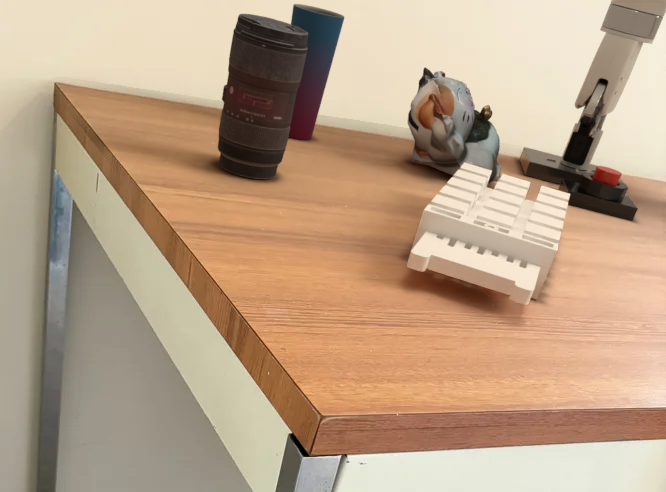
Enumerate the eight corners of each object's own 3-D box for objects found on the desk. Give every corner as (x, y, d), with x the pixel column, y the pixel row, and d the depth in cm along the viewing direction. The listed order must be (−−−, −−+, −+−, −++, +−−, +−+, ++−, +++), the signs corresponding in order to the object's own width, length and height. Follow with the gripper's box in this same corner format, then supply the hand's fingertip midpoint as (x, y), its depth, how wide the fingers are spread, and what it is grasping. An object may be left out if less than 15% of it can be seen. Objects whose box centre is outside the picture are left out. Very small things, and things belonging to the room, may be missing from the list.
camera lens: (234, 181, 92) (260, 26, 82) (201, 157, 97) (222, 9, 87) (294, 183, 96) (325, 36, 86) (259, 161, 101) (285, 19, 91)
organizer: (570, 193, 98) (551, 275, 71) (553, 234, 101) (529, 327, 74) (464, 162, 100) (406, 229, 73) (451, 202, 103) (390, 282, 76)
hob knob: (558, 158, 130) (573, 119, 126) (585, 165, 130) (601, 126, 126) (561, 165, 126) (578, 124, 123) (589, 172, 126) (606, 131, 123)
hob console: (608, 182, 134) (615, 168, 132) (620, 200, 125) (627, 185, 124) (519, 159, 134) (524, 145, 133) (524, 175, 125) (530, 160, 124)
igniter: (623, 207, 121) (634, 183, 119) (632, 220, 115) (644, 195, 113) (557, 190, 121) (567, 165, 119) (563, 202, 116) (573, 177, 113)
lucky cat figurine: (504, 194, 112) (502, 90, 101) (414, 209, 115) (403, 110, 104) (496, 136, 121) (494, 36, 110) (413, 152, 124) (403, 55, 113)
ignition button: (614, 183, 118) (619, 170, 117) (618, 189, 115) (624, 176, 114) (589, 176, 118) (594, 163, 117) (593, 182, 115) (598, 169, 114)
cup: (325, 139, 117) (353, 17, 108) (302, 143, 112) (329, 16, 103) (286, 125, 119) (309, 4, 110) (261, 128, 115) (283, 2, 105)
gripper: (613, 18, 124) (562, 147, 135) (594, 18, 111) (540, 160, 122) (662, 31, 122) (607, 161, 133) (649, 32, 109) (589, 175, 120)
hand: (576, 159), depth 128 cm, fingers closed on hob knob, 4 cm apart
